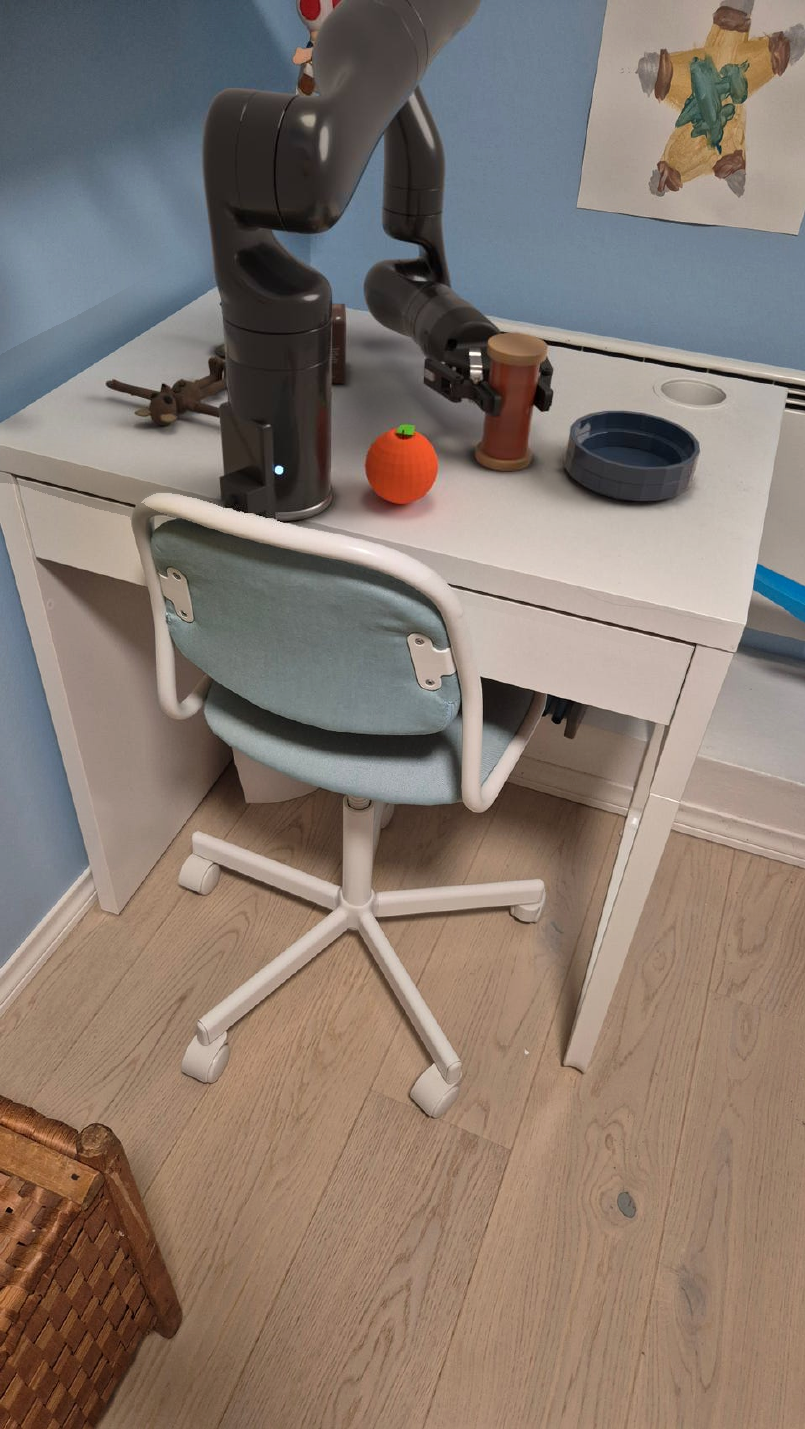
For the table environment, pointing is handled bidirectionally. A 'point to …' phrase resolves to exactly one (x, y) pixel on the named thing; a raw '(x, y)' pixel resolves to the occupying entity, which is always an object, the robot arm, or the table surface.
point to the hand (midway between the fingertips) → (522, 405)
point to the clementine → (401, 465)
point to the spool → (511, 400)
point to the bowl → (631, 455)
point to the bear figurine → (179, 395)
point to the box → (338, 343)
